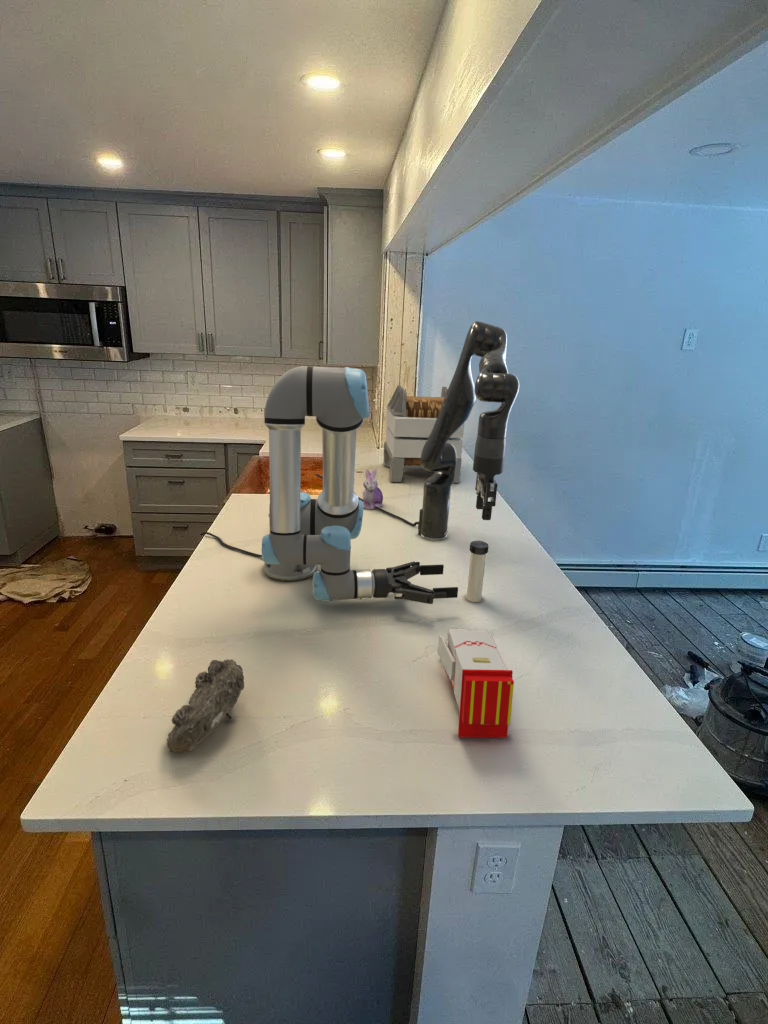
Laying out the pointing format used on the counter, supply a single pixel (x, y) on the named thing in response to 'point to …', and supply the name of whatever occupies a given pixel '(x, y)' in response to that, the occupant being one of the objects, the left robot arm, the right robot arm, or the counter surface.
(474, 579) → the jar
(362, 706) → the counter surface
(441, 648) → the toy
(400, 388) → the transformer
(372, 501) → the figurine
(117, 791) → the counter surface
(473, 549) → the lid
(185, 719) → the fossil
